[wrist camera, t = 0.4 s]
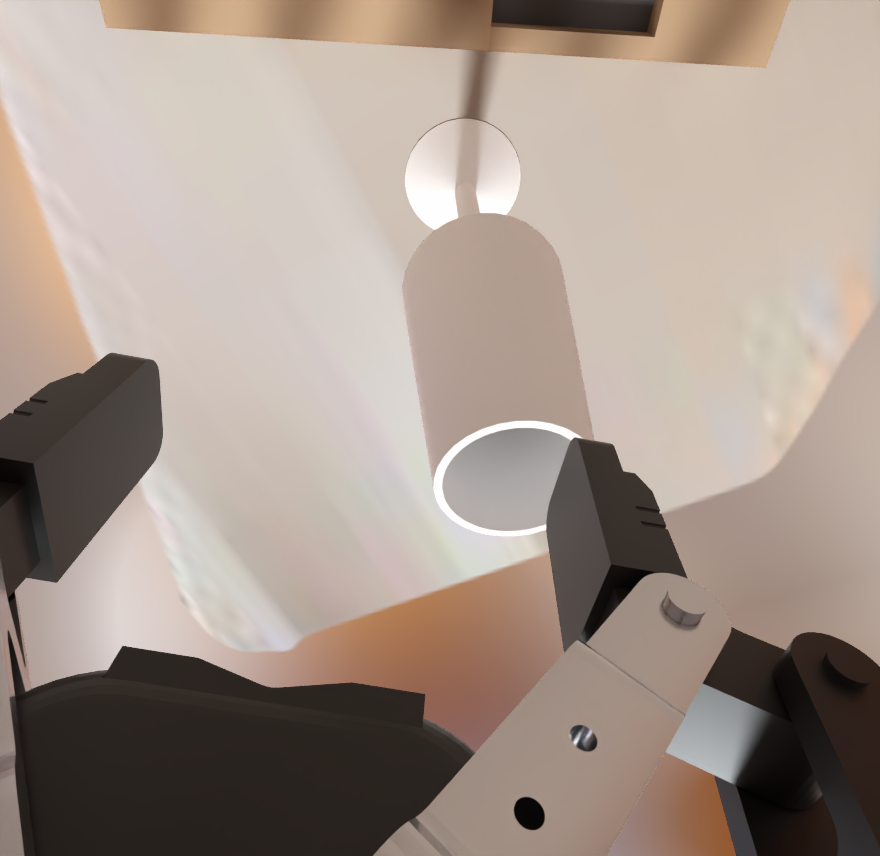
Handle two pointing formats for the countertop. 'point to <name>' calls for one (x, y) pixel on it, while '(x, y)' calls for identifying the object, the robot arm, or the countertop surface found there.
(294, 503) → the countertop surface
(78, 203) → the countertop surface
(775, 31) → the trap deck
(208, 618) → the countertop surface
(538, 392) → the champagne flute
